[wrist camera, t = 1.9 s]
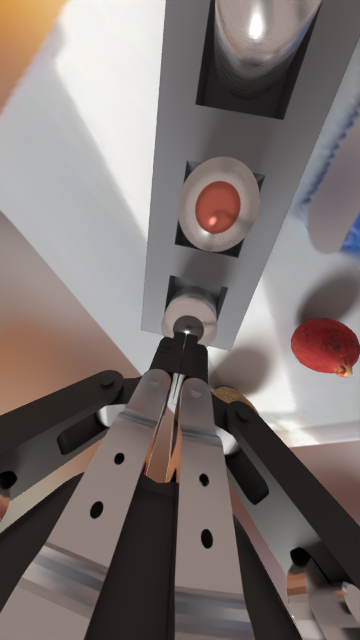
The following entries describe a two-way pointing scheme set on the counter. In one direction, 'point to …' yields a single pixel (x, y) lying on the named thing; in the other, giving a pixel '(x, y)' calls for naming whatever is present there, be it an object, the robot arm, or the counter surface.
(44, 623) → the robot arm
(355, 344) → the onion
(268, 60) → the knob
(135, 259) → the counter surface
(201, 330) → the knob
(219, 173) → the knob mid
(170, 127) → the mount
